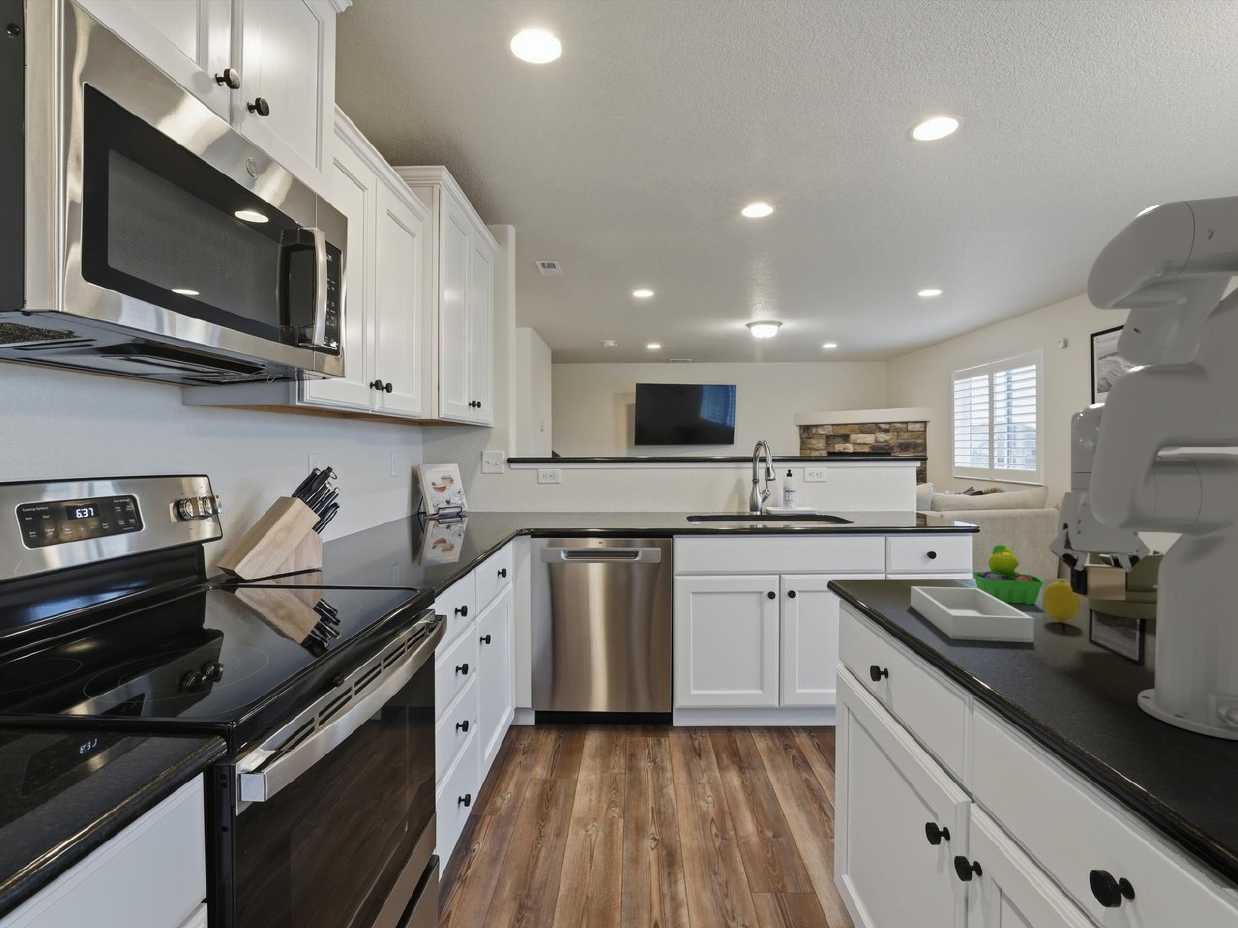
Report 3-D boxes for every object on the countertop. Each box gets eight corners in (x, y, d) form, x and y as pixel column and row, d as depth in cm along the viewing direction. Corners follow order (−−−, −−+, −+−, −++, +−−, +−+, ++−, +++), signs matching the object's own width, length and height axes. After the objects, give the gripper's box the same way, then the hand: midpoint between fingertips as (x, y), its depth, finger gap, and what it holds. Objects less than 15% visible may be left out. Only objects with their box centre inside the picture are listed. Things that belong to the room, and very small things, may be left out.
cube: (1125, 600, 100) (1125, 569, 101) (1091, 599, 101) (1091, 567, 101) (1105, 594, 105) (1105, 564, 105) (1073, 593, 106) (1073, 563, 106)
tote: (1033, 642, 103) (1033, 618, 103) (952, 638, 105) (952, 615, 105) (977, 608, 125) (978, 588, 125) (910, 605, 127) (911, 586, 126)
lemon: (1044, 624, 113) (1045, 580, 113) (1040, 617, 118) (1041, 575, 118) (1082, 628, 111) (1083, 584, 111) (1076, 621, 116) (1077, 578, 116)
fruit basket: (980, 603, 129) (981, 548, 129) (970, 593, 138) (970, 542, 137) (1044, 607, 126) (1045, 551, 125) (1029, 596, 134) (1030, 544, 134)
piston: (1147, 557, 115) (1078, 548, 125) (1145, 621, 115) (1076, 607, 125) (1174, 551, 121) (1106, 543, 130) (1172, 613, 121) (1104, 600, 131)
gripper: (1140, 484, 106) (1140, 592, 106) (1031, 482, 109) (1030, 588, 108) (1172, 485, 99) (1172, 601, 98) (1055, 483, 101) (1054, 596, 101)
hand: (1098, 593), depth 103 cm, fingers closed on cube, 5 cm apart
